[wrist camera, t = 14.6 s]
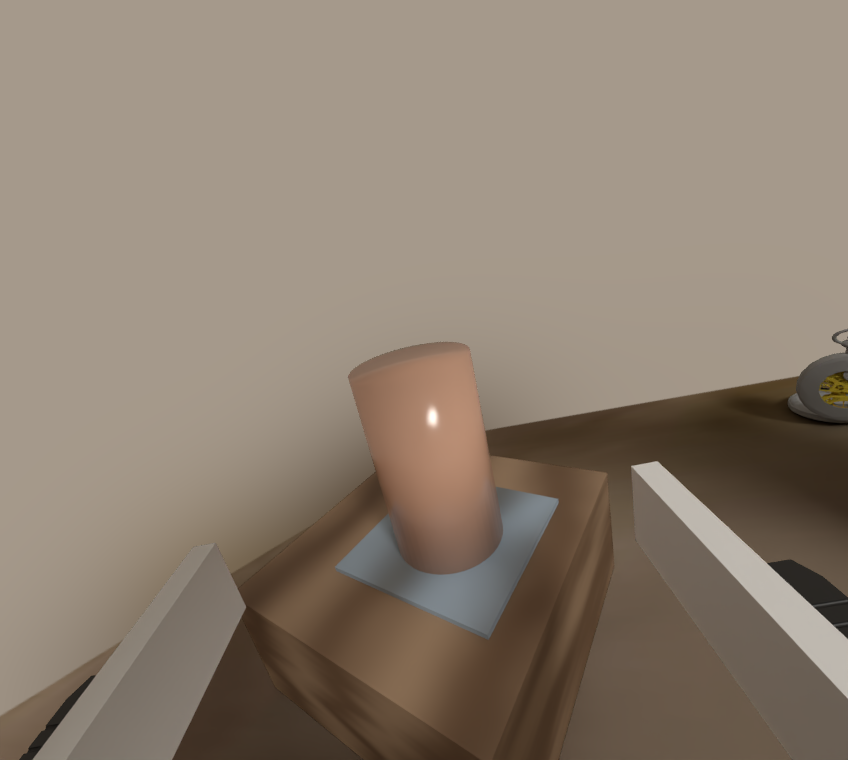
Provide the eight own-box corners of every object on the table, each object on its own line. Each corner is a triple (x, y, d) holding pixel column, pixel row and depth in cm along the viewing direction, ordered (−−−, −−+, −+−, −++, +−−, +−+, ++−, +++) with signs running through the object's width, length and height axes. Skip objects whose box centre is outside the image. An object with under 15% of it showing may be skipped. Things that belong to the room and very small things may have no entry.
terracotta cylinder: (519, 510, 25) (491, 339, 21) (471, 590, 20) (424, 387, 16) (434, 491, 28) (398, 344, 25) (377, 554, 24) (322, 383, 20)
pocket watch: (832, 393, 44) (843, 304, 41) (923, 426, 36) (945, 319, 33) (756, 408, 45) (761, 321, 41) (830, 444, 37) (843, 339, 33)
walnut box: (614, 565, 29) (606, 468, 27) (521, 889, 16) (488, 760, 13) (427, 514, 40) (408, 440, 37) (274, 687, 26) (228, 590, 24)
